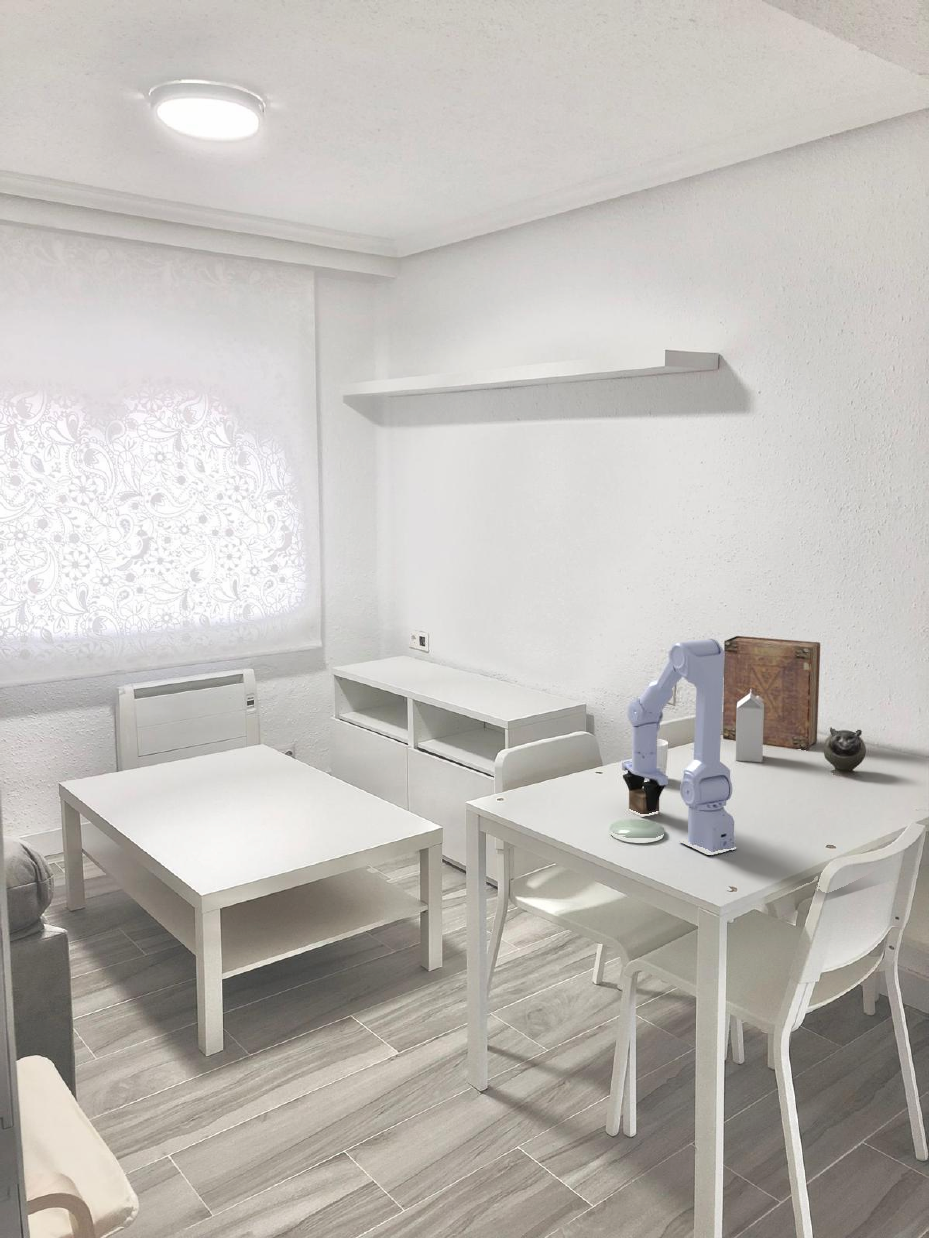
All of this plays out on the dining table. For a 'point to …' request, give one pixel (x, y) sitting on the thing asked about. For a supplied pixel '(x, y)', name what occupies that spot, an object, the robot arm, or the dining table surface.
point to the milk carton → (749, 729)
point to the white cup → (661, 756)
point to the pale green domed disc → (637, 828)
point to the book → (774, 687)
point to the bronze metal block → (639, 801)
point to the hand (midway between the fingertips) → (644, 806)
